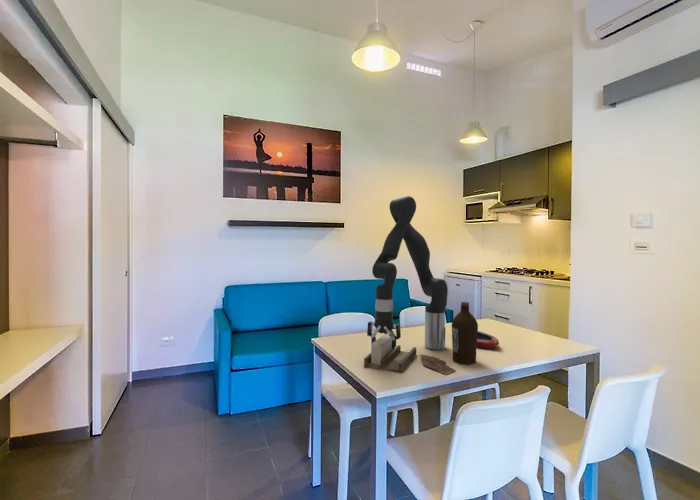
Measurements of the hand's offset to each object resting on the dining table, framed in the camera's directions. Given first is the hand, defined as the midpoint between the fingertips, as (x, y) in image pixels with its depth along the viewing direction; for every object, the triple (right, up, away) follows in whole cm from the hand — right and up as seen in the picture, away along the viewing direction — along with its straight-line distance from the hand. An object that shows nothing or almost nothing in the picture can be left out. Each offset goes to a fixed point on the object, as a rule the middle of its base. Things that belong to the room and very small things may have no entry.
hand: (383, 347), depth 151 cm
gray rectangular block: (0, -4, 0) cm, 4 cm away
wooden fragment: (+20, -6, -4) cm, 22 cm away
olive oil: (+34, -6, -1) cm, 35 cm away
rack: (+3, -5, -1) cm, 6 cm away
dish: (+49, -6, +29) cm, 57 cm away
